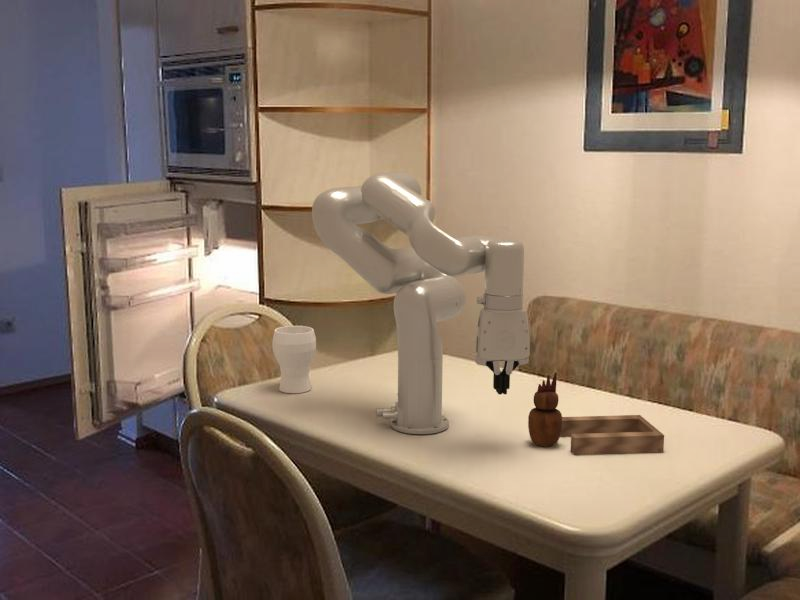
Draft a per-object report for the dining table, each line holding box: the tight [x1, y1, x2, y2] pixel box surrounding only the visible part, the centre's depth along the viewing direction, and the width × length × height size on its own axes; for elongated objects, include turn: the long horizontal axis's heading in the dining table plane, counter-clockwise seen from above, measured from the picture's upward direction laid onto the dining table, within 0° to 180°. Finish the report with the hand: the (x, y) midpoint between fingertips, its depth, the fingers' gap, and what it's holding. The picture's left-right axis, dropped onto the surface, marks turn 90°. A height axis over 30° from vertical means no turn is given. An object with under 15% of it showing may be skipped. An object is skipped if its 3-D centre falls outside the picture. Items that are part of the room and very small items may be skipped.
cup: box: [272, 325, 317, 394], centre depth 221 cm, size 11×11×15 cm
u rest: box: [559, 414, 665, 456], centre depth 185 cm, size 18×13×4 cm
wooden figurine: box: [527, 371, 563, 448], centre depth 183 cm, size 7×6×15 cm
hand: (501, 392), depth 181 cm, fingers closed
